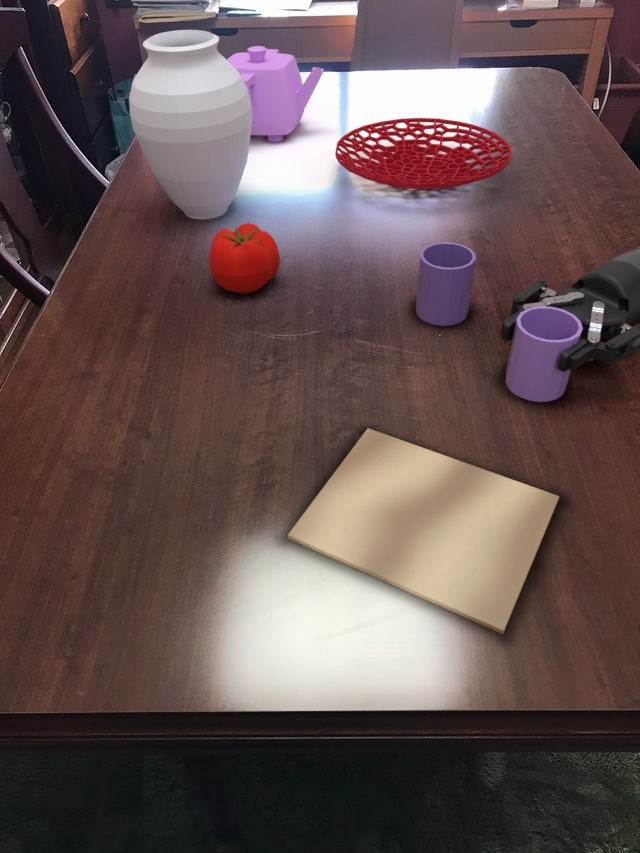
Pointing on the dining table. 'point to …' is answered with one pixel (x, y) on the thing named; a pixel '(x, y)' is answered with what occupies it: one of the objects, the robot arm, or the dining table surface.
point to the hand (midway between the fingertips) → (532, 347)
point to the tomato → (243, 258)
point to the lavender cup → (541, 352)
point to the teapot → (274, 90)
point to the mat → (430, 526)
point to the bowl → (423, 154)
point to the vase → (192, 120)
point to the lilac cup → (444, 283)
